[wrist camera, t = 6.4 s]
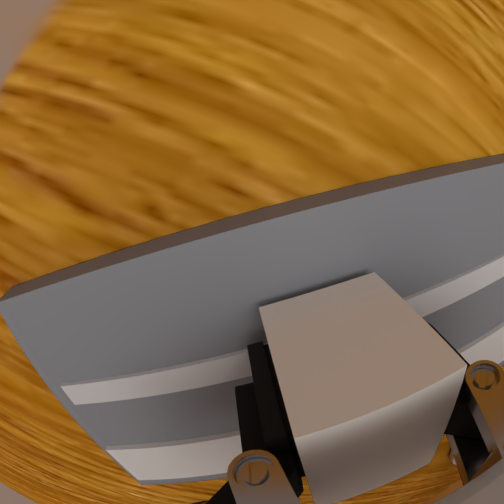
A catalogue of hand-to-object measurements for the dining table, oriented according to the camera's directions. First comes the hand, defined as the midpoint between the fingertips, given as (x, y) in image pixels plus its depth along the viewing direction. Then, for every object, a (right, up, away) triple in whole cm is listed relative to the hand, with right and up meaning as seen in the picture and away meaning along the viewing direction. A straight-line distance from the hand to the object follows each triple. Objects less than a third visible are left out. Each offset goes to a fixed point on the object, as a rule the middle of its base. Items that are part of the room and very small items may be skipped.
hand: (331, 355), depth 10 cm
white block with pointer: (0, -1, +1) cm, 2 cm away
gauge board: (+4, 0, +3) cm, 5 cm away
